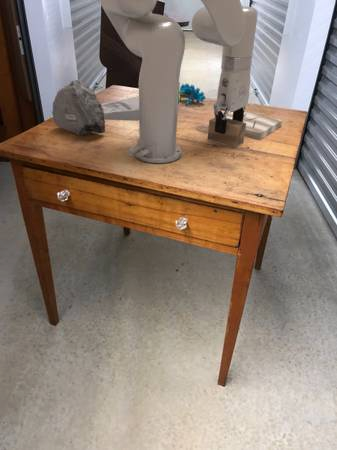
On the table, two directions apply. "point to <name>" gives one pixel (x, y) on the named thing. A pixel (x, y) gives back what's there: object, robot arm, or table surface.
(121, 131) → the table surface
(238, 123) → the block
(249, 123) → the board
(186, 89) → the gear
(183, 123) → the table surface
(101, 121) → the decorative rock
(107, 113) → the ramp
